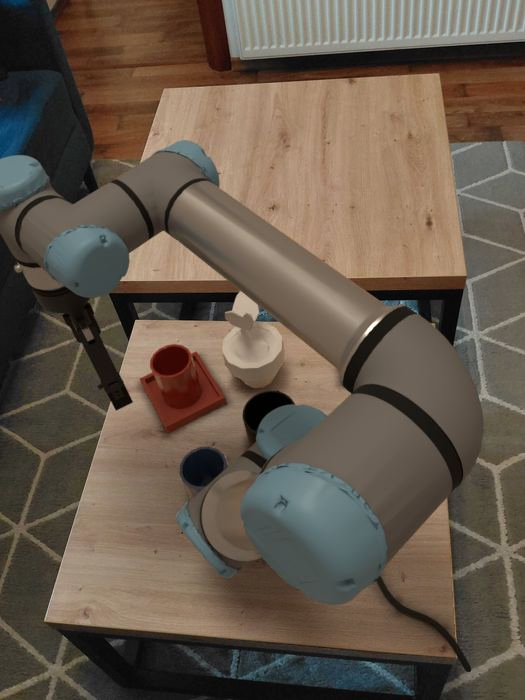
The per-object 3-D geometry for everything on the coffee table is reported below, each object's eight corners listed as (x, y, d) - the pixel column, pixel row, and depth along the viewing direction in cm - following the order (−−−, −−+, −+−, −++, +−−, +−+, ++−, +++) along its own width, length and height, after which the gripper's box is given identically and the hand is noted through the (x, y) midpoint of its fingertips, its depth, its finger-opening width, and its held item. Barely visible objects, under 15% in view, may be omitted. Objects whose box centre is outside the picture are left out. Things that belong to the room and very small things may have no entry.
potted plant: (278, 405, 123) (261, 316, 104) (221, 393, 127) (195, 305, 108) (297, 354, 131) (285, 263, 112) (243, 344, 134) (222, 254, 115)
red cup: (208, 396, 126) (198, 365, 118) (172, 415, 124) (159, 384, 117) (192, 370, 131) (181, 338, 123) (157, 387, 129) (143, 355, 121)
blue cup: (245, 493, 113) (236, 465, 105) (212, 525, 110) (200, 498, 102) (215, 467, 117) (205, 438, 109) (183, 497, 114) (169, 469, 106)
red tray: (227, 403, 125) (225, 397, 124) (167, 433, 123) (165, 427, 121) (198, 357, 133) (196, 351, 132) (142, 384, 131) (139, 378, 129)
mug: (306, 409, 122) (302, 380, 115) (296, 465, 115) (292, 438, 108) (257, 405, 124) (250, 376, 117) (244, 460, 117) (237, 433, 110)
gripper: (6, 231, 89) (62, 332, 105) (56, 348, 74) (112, 445, 90) (58, 210, 91) (105, 313, 107) (117, 320, 75) (161, 420, 92)
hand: (108, 373), depth 99 cm, fingers open, 13 cm apart
